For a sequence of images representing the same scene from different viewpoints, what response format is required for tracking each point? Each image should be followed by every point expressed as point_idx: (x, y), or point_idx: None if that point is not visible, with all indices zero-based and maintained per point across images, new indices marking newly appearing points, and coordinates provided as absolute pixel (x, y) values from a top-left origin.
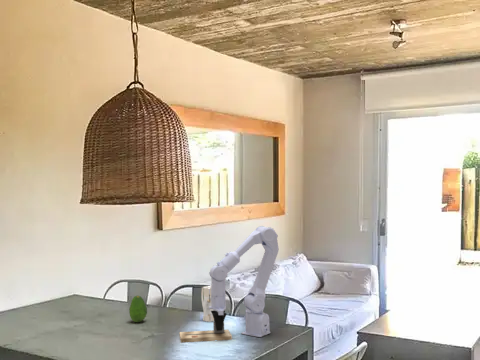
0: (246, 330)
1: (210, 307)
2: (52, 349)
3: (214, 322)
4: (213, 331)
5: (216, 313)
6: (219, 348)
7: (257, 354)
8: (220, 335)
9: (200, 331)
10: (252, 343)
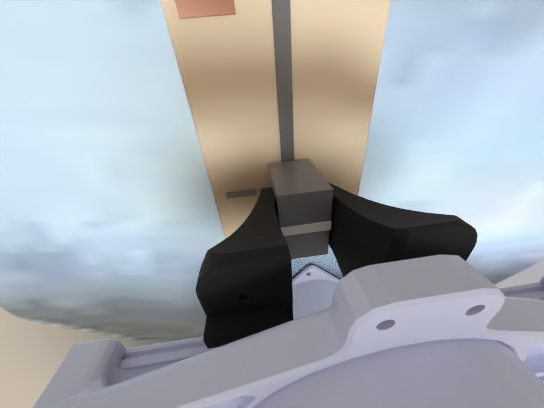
0: (306, 291)
1: (350, 335)
2: None
3: (304, 198)
4: (335, 156)
5: (233, 305)
6: (43, 182)
7: (20, 312)
8: (230, 197)
9: (367, 52)
10: (174, 295)
